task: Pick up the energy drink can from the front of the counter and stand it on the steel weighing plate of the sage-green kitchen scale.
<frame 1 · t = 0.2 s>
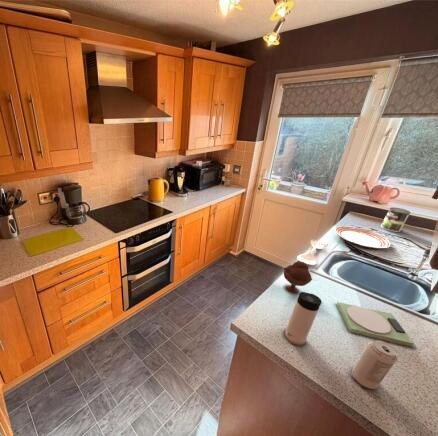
travel mug: (294, 338, 84), on the worktop
ice cream bowl: (291, 290, 106), on the worktop
glass jar: (390, 228, 162), on the worktop
dinner plate: (359, 240, 148), on the worktop
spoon: (311, 255, 132), on the worktop
energy drink can: (363, 380, 71), on the worktop
kitchen scale: (370, 324, 89), on the worktop
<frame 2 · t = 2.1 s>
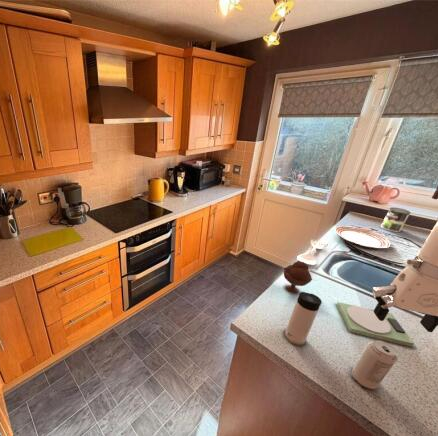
hand: (401, 322, 60), 25 cm above the worktop, tool pointing down, fingers open, 9 cm apart
nothing on the worktop moved.
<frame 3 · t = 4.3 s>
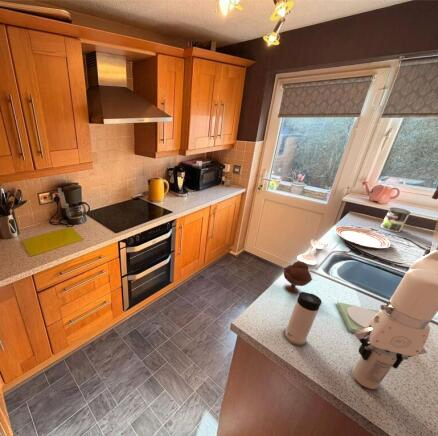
hand: (377, 359, 66), 10 cm above the worktop, tool pointing down, fingers closed on energy drink can, 6 cm apart
energy drink can: (363, 380, 71), on the worktop, touching gripper
everything else where it was.
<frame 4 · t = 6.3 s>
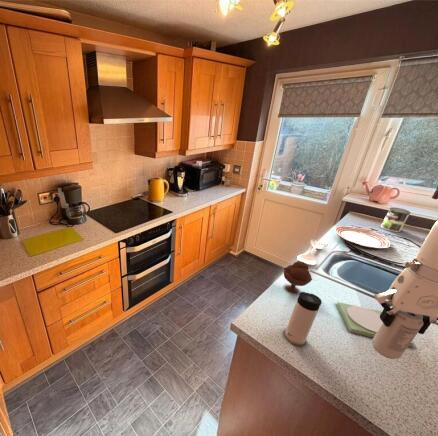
hand: (400, 325, 61), 24 cm above the worktop, tool pointing down, fingers closed on energy drink can, 6 cm apart
energy drink can: (384, 350, 65), point 13 cm above the worktop, touching gripper
everything else where it was.
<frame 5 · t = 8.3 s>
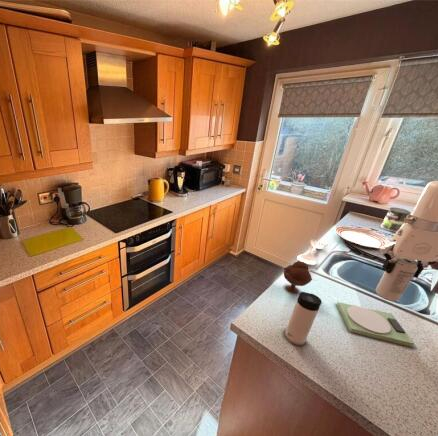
hand: (399, 272, 75), 27 cm above the worktop, tool pointing down, fingers closed on energy drink can, 6 cm apart
energy drink can: (386, 296, 79), point 17 cm above the worktop, touching gripper
everything else where it was.
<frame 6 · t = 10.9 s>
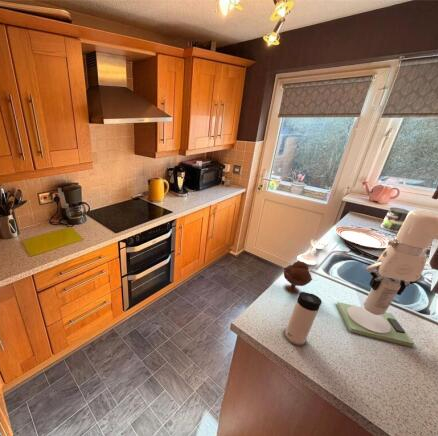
hand: (384, 289, 82), 17 cm above the worktop, tool pointing down, fingers closed on energy drink can, 6 cm apart
energy drink can: (372, 310, 87), point 7 cm above the worktop, touching gripper
everything else where it was.
when the fingers open (13 cm above the worktop, at t = 12.6 s): energy drink can stays where it is, resting on kitchen scale.
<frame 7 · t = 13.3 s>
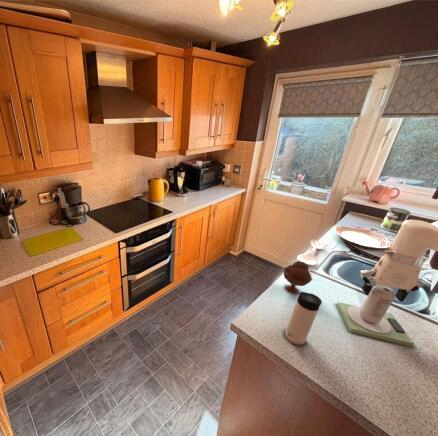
hand: (381, 295, 83), 14 cm above the worktop, tool pointing down, fingers open, 9 cm apart
energy drink can: (368, 318, 88), point 2 cm above the worktop, touching kitchen scale
everything else where it was.
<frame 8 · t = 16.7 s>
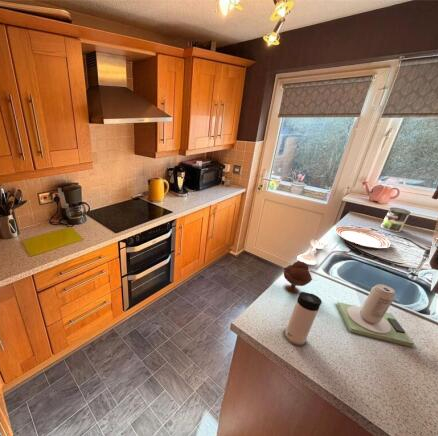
nothing on the worktop moved.
at the end: energy drink can inside the target area on the kitchen scale (0.1 cm from its centre), point 2.4 cm above the kitchen scale's base; energy drink can tilted 0°; the gripper is holding nothing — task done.
